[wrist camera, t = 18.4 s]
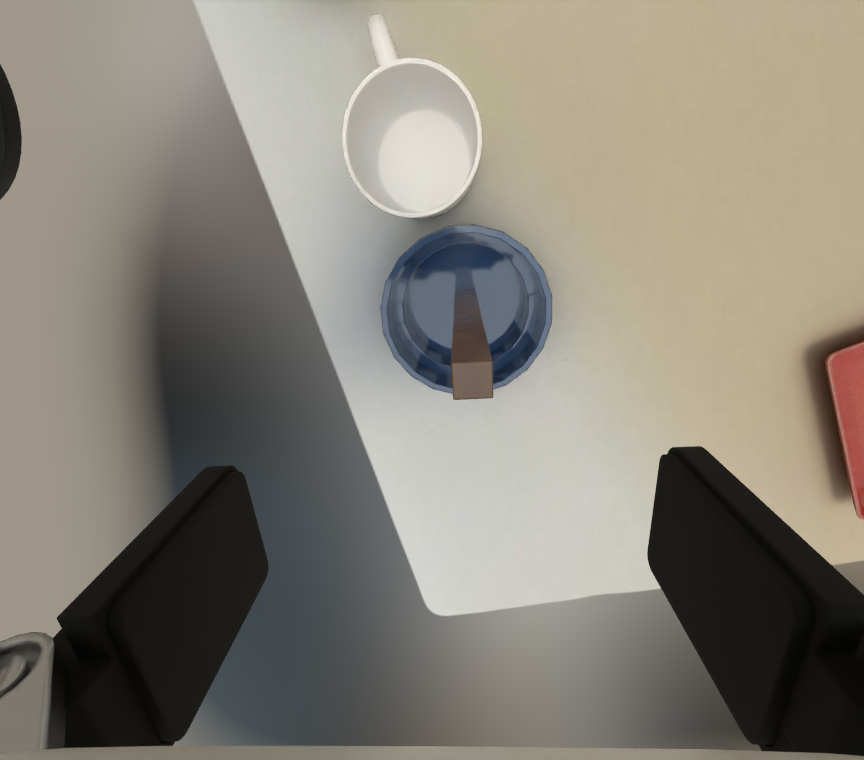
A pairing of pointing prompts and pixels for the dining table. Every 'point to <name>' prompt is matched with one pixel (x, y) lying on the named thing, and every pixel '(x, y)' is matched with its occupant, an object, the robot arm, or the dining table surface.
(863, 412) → the plant saucer
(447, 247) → the bowl
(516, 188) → the dining table surface
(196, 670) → the robot arm
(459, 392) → the stick
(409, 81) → the cup
